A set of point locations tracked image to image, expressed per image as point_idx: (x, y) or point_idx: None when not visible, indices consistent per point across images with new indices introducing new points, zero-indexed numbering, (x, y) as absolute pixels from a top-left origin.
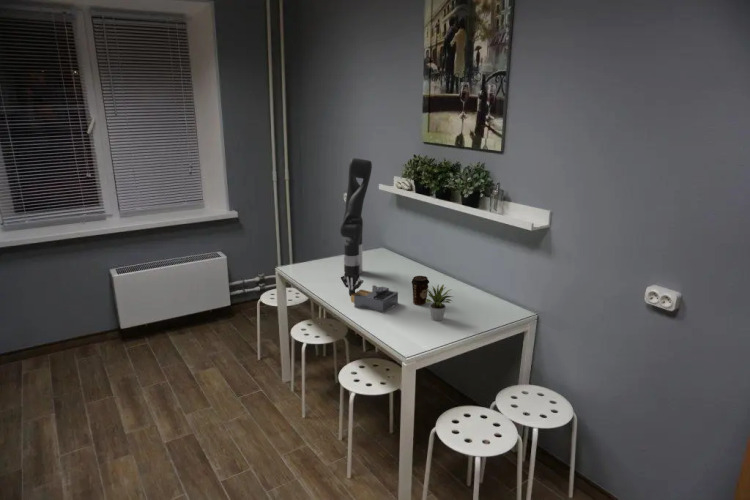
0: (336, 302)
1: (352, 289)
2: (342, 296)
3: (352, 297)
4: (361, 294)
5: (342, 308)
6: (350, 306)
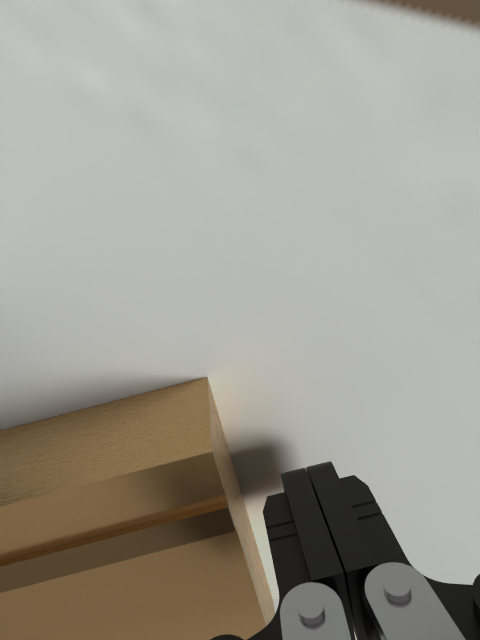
0: (370, 160)
1: (292, 604)
2: (470, 404)
3: (176, 432)
4: (88, 608)
5: (41, 31)
6: (30, 232)
